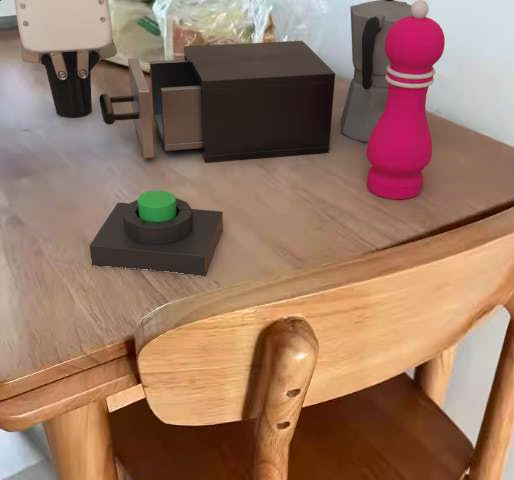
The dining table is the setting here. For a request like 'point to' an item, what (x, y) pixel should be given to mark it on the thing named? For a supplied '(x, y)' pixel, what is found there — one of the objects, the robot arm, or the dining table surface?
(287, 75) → the cabinet
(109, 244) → the control block
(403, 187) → the pepper mill
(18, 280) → the dining table surface
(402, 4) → the coffeepot
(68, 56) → the drinking cup
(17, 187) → the dining table surface
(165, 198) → the button
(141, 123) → the drawer
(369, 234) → the dining table surface
